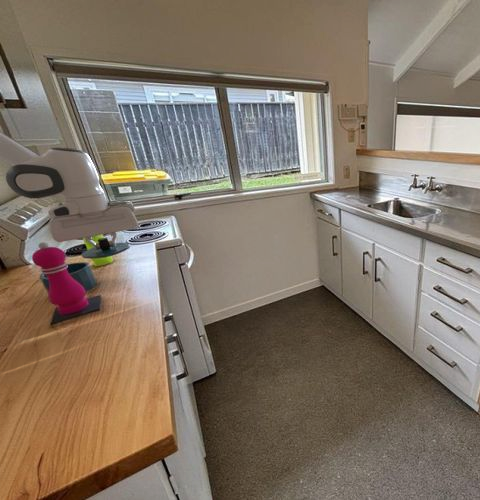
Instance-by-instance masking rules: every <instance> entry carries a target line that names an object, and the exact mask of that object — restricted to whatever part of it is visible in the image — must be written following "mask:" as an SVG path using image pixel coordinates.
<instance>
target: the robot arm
mask: <svg viewBox="0 0 480 500" xmlns="http://www.w3.org/2000/svg"><path fill="white" fill-rule="evenodd" d="M0 160H1V161H3V162H5V163H7V164H9V165H10V166H11V167H10V168H8V170H7V171H6V174H5V181H6V183H7V185H8V187H9V188H10V189H11V190H12V191H13V192H14V193H15V194H17V195H19V196H21V197H24V198H27V199H35V200H36V199H39V200H40V199H47V198H50V197H53V196H56V195H62V196H64V198H65V201H64V202H61V203H58V204H57V205H54V206H52V207H50V208H49V209H48V211H47V213H48V215H49V217H50V219H49V223H48V226H49V230H50V231H49V232H50V234H51V237H52V239H53V240H54V241H55V242H58V243H63V242H68V241H69V242H70V241H74V240H79V239H83V238H85V240H86V241H87V242H88V243H90V244H91V245H93V247H94V249H95V250H99V249H101V248H100V245H99V243H95V242H93V241H92V236H97V235H103V236H104V235H108V234H110V237H111V239H110V240H108V241H109V244H110V247H114V246H116V243H117V242H116V239H117V233H118V232H119V233H120V232H124V231H131V230H137V229H138V228H139V222H138V220H137V218H136V215H135V212H136V209H135V206H134V204H133V203H132V202H130V201H128V200H120V201H109V202H108V199H107V197H106V193H105V191H104V190H103V188H102V187H101V185H100V177H99V174H98V172H97V169H96V167H95V165H94V163H93V161H92V159H91V157H90V156H89V154H88V153H87V152H85V151H84V150H81V149H78V148H72V147H71V148H70V147H60V146H59V147H57V146H55V147H49V148H48V149H47V150H46V152H44V153H43V154H39V153H38V152H35V151H33V150H32V149H30V148H29V147H27V146H25V145H23V144H22V143H20V142H18V141H17V140H15V139H14V138H12V137H10V136H9V135H7V134H5V133H4V132H2V131H0Z"/></svg>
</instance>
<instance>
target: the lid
mask: <svg viewBox="0 0 480 500" xmlns="http://www.w3.org/2000/svg"><path fill="white" fill-rule="evenodd" d="M109 241H110V240H109V239H108V237H104V238H101V239H98V243H99V245H100V248H101V249H99V250H95V249H94V248H91V249H89V250H88V249H86V250H85V251H83V252H82V253H81V257H82V258H83V259H91V260H92V259H93V258H104V257H109V256H111V257H113V256H116V255H118V254H121V253H123V252H125V251H127V250H129V249H130V247H131V245H130V243H129V242H115V243H116V246H114V247H110V244H109Z"/></svg>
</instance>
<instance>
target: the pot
mask: <svg viewBox="0 0 480 500" xmlns="http://www.w3.org/2000/svg"><path fill="white" fill-rule="evenodd" d="M67 265H68V267H67V271H68V273H69V274H70V276H71V277H72V278H73V279H74V280H76V281H77V282H78V283H80V284H81V285H82V286H83V287H84V289H85V291H86V292H88V291H90V290H92V289H94V288H95V287H96V286H97V285H98V281H97V279H96V276H95V274H94V272H93V269H92V268H91V264H90V262H89V263H88V262H86V261H85V262H84V261H79V262H71V263H67ZM39 279H40V281H41V283H42V286H43V287H44V289H45V291H46V293H47V295H48V296H49V287H50V284H49V280H48V278H47V276H46V274H43V273H42V272H41V273H40V275H39Z"/></svg>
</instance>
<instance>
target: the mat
mask: <svg viewBox="0 0 480 500" xmlns="http://www.w3.org/2000/svg"><path fill="white" fill-rule="evenodd" d="M86 299H87V301H88V303H89V305H88V306H87V307H86V308H84V309H82V310H80V311H78V312H75V313H72V314H66V315H62V314H60V313H59V311H58V310H57V307H58V306H56V307H55V308H54V311H53V314H52V317H51V320H50V322H49V324H50V326H52V325H55V324H59V323H62V322H67V321H68V320H72V319H76V318H79V317H82V316H85V315H88V314H92V313H95V312H99V311H101V299H102V295H101V294H98V295H94V296H91V297H86Z"/></svg>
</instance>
